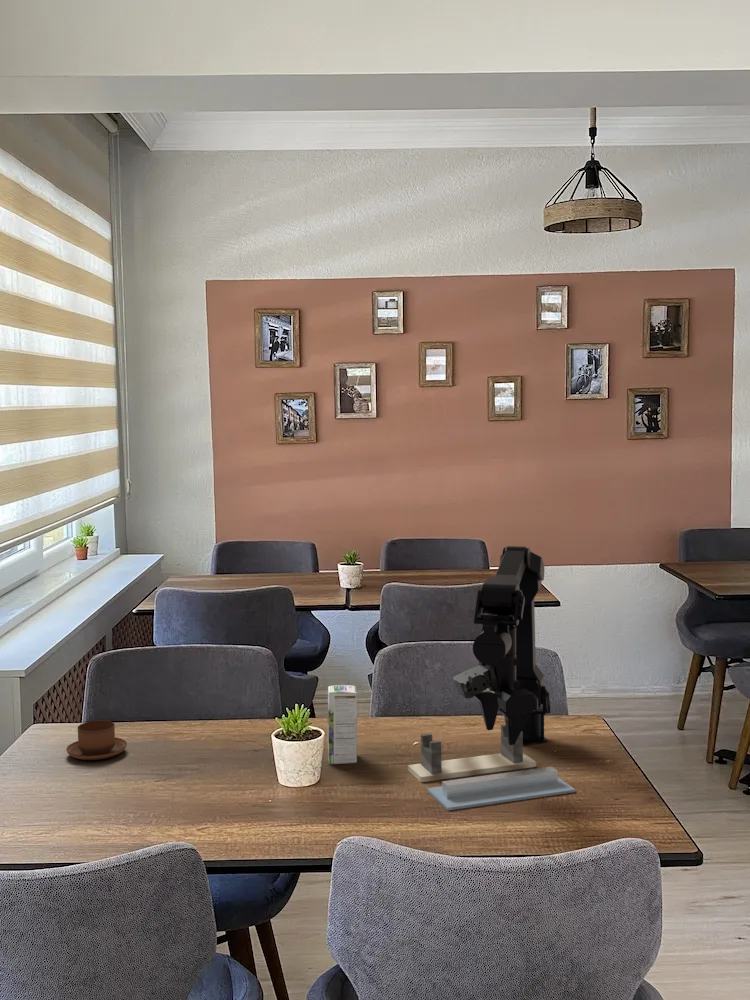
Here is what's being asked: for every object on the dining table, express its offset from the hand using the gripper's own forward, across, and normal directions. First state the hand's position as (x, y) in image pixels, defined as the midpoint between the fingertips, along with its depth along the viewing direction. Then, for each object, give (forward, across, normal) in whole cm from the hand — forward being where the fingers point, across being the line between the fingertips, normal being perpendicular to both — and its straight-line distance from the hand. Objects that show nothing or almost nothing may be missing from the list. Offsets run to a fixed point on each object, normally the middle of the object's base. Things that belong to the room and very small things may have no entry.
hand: (500, 737), depth 185 cm
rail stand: (+10, -13, 0) cm, 17 cm away
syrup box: (+10, -27, -22) cm, 36 cm away
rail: (+10, 0, 0) cm, 10 cm away
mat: (+10, 0, 0) cm, 10 cm away
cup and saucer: (+11, -48, -68) cm, 84 cm away
